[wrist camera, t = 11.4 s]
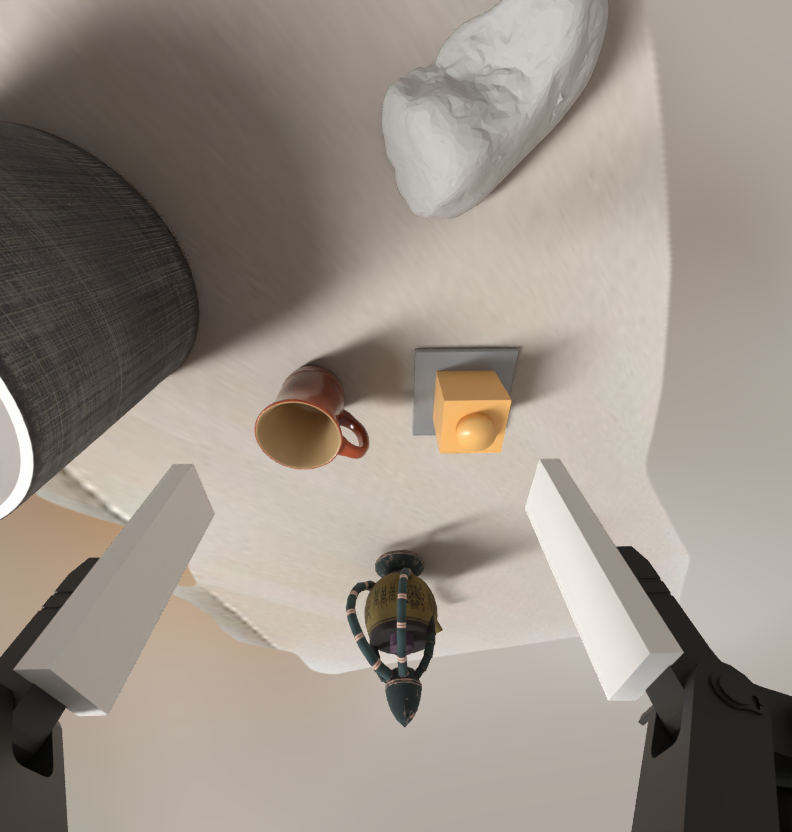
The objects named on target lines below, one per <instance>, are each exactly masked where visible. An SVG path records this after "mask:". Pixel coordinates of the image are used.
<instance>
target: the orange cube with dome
mask: <svg viewBox="0 0 792 832" xmlns="http://www.w3.org/2000/svg"><path fill="white" fill-rule="evenodd" d="M511 401H512V400H511V398H510V396H509V395H508V393H507V391H506V390H505V388H504V386H503V384H502V383H501V381H500V379H499V378H498V376H497V374H496V373H495V371H494V370H488V371H436V382H435V397H434V411H433V422H434V427H435V432H436V437H437V442H438V447H439V452H440V453H500V452H501V448H502V444H503V439H504V434H505V429H506V425H507V420H508V415H509V410H510V406H511Z"/></svg>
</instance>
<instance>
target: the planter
mask: <svg viewBox="0 0 792 832" xmlns="http://www.w3.org/2000/svg"><path fill="white" fill-rule="evenodd" d="M198 315H199V314H198V302H197V295H196V290H195V286H194V282H193V279H192V276H191V273H190V270H189V268H188V265H187V263H186V261H185V258H184V256H183V254H182V252H181V250H180V248H179V246H178V245H177V243H176V241H175V240H174V238H173V236H172V235H171V233H170V232H169V230H168V229H167V227H166V226H165V224H164V223H163V222H162V220H161V219H160V218H159V216H158V215H157V214H156V212H155V211H154V210H153V209H152V208H151V206H150V205H149V204H148V203H147V202H146V201H145V200H144V199H143V198H142V197H141V195H140V194H139V193H138V192H137V191H136V190H135V189H134V188H132V187H131V186H130V185H129V184H128V183H127V182H126V181H125V180H124V179H123V178H121V177H120V176H119V175H118V174H117V173H116V172H114V171H113V170H112V169H110V168H109V167H108V166H106V165H105V164H104V163H102V162H101V161H99V160H98V159H97V158H95V157H94V156H92V155H91V154H89V153H87V152H86V151H84V150H82V149H81V148H79V147H77V146H75V145H73V144H71V143H69V142H67V141H65V140H63V139H61V138H59V137H57V136H54V135H52V134H49V133H47V132H44V131H41V130H38V129H35V128H31V127H28V126H24V125H19V124H14V123H9V122H1V121H0V520H1V519H3V518H4V517H6V516H7V515H9V514H11V513H12V512H13V511H14V510H16V509H17V508H18V507H19V506H20V505H21V504H22V503H24V502H25V501H26V500H27V499H28V498H29V497H30V496H32V495H33V494H34V493H35V492H36V491H38V490H39V489H40V488H41V487H42V486H43V485H44V484H46V483H47V482H48V481H49V480H50V479H51V478H52V477H54V476H55V475H56V474H57V473H58V472H59V471H60V470H62V469H63V468H64V467H65V466H66V465H67V464H69V463H70V462H71V461H72V460H73V459H74V458H75V457H77V456H78V455H79V454H80V453H81V452H82V451H83V450H85V449H86V448H87V447H88V446H89V445H90V444H91V443H93V442H94V441H95V440H96V439H97V438H98V437H99V436H101V435H102V434H103V433H104V432H105V431H106V430H107V429H109V428H110V427H111V426H112V425H113V424H114V423H115V422H117V421H118V420H119V419H120V418H121V417H122V416H123V415H125V414H126V413H127V412H128V411H129V410H130V409H131V408H133V407H134V406H135V405H136V404H137V403H138V402H139V401H140V400H142V399H143V398H144V397H145V396H146V395H147V394H148V393H149V392H150V391H152V390H153V389H154V388H155V387H156V386H157V385H158V384H159V383H160V382H162V381H163V380H164V379H165V378H166V377H168V376H169V375H170V374H172V373H173V372H174V371H175V370H176V369H178V367H179V366H180V365H181V364H182V363H183V362H184V361H185V359H186V358H187V356H188V355H189V353H190V351H191V349H192V347H193V344H194V342H195V339H196V334H197V329H198Z"/></svg>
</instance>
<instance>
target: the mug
mask: <svg viewBox="0 0 792 832" xmlns="http://www.w3.org/2000/svg"><path fill="white" fill-rule="evenodd" d="M343 406H344V393H343V388H342V385H341V383H340V381H339V379H338V378H337V377H336V376H335V375H334V374H333V373H332V372H330V371H329V370H327V369H325V368H322V367H318V366H306V367H302V368H300V369H298V370H296V371H295V372H293V373H292V374H291V375H290V376H289V377H288V378H287V379H286V380H285V382H284V383H283V385H282V388H281V390H280V392H279V394H278V396H277V399H276V401H275V402H274V403H272V404H271V405H269V406H268V407H266V408H265V409H264V410H263V411H262V412H261V413H260V415H259V416H258V418H257V420H256V423H255V437H256V440H257V442H258V444H259V446H260V448H261V449H262V450H263V452H264V453H265V454H266V455H267V456H269V457H270V458H271V459H272V460H274V461H276V462H277V463H279V464H281V465H284V466H287V467H290V468H295V469H313V468H317V467H321V466H323V465H326V464H328V463H330V462H331V461H332V460H333V459H334V458H335V457H336V456H337V454H338V455H341V456H347V457H350V458H354V459H358V458H361V457H363V456H364V455H365V454H366V452H367V450H368V448H369V436H368V433H367V431H366V429H365V428H364V426H363V425H362V424H361V423H360V422H359V421H358V420H356V419H355V418H354V417H353V416H352V415H351V414H350V413H349V412H347V411H346V410H344V408H343ZM340 426H344V427H347V428H349V429H350V430H351V431H353V432H354V433H355V435H356V436H357V438H358V441H359V447H358V446H355V445H353V444H351V443H350V442H349V441H348V440H347V439H346V438H345V437H344V436H343V435H342V432H341V428H340Z"/></svg>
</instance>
